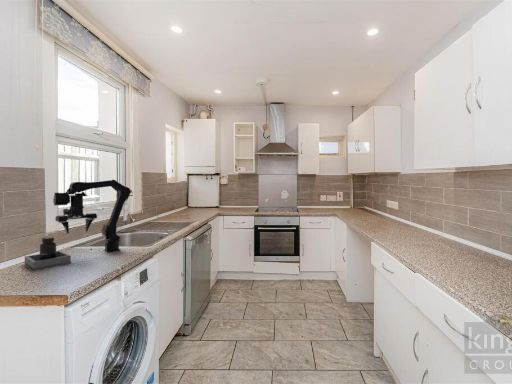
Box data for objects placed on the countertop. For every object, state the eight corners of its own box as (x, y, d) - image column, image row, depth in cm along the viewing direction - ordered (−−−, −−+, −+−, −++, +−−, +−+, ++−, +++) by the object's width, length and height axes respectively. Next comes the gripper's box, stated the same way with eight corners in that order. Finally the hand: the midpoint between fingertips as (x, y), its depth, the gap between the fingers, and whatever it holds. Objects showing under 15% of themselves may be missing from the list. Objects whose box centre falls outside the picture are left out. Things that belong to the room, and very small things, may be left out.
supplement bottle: (40, 264, 134) (39, 239, 134) (38, 261, 139) (38, 237, 139) (57, 261, 139) (57, 237, 138) (55, 258, 144) (55, 235, 143)
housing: (60, 257, 150) (60, 250, 149) (70, 263, 140) (70, 255, 140) (24, 264, 138) (24, 256, 138) (33, 270, 129) (33, 262, 128)
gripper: (89, 202, 165) (89, 228, 166) (51, 204, 150) (52, 233, 151) (97, 203, 158) (97, 231, 159) (59, 206, 144) (59, 235, 144)
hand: (77, 232), depth 153 cm, fingers open, 9 cm apart
